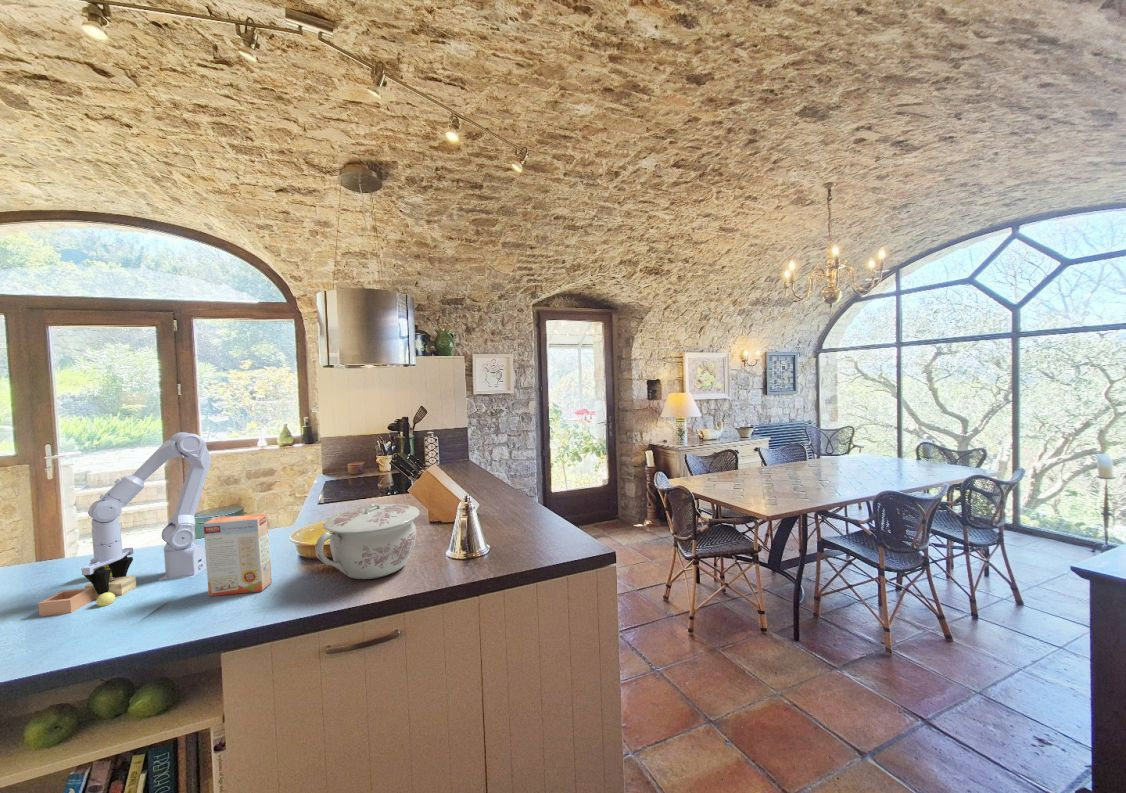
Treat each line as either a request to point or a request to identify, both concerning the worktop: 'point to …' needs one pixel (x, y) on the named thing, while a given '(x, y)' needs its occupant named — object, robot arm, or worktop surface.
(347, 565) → the chamber pot
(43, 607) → the pink open box
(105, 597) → the yellow ball
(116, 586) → the lid
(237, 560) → the cracker box
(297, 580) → the worktop surface
